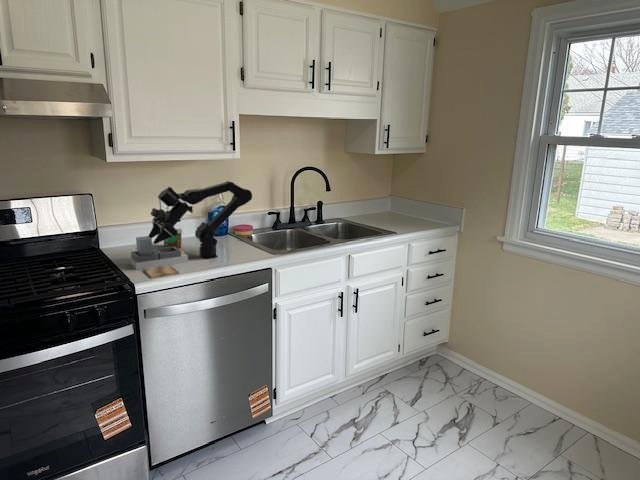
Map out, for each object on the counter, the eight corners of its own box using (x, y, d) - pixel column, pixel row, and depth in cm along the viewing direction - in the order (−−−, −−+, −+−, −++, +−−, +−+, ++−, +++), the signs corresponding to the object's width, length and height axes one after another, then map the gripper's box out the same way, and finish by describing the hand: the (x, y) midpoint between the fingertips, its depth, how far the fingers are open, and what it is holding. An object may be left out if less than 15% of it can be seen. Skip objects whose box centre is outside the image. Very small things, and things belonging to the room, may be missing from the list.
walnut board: (170, 266, 198) (169, 265, 197) (178, 273, 189) (178, 271, 189) (143, 270, 191) (143, 269, 191) (151, 278, 183) (151, 276, 182)
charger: (149, 256, 201) (148, 236, 199) (152, 259, 198) (151, 238, 195) (137, 257, 199) (136, 237, 196) (140, 260, 195) (139, 240, 193)
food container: (156, 247, 228) (155, 227, 226) (166, 244, 233) (165, 225, 231) (172, 251, 221) (171, 230, 219) (183, 248, 226) (182, 228, 224)
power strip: (180, 257, 212) (180, 245, 211) (188, 262, 205) (187, 250, 204) (130, 264, 199) (129, 252, 198) (136, 269, 192) (135, 257, 191)
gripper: (156, 198, 204) (131, 224, 201) (168, 204, 189) (141, 233, 186) (174, 214, 211) (150, 240, 207) (188, 222, 196) (162, 250, 192)
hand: (151, 240), depth 198 cm, fingers open, 9 cm apart
